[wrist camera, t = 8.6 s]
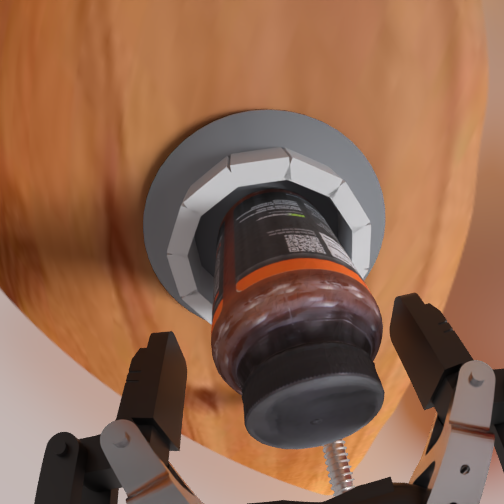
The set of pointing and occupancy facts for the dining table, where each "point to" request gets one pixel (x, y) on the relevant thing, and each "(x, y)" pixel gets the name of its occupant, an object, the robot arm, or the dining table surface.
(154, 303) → the dining table surface
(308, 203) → the supplement bottle
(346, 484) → the screw
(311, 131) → the bottle coaster
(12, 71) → the dining table surface
